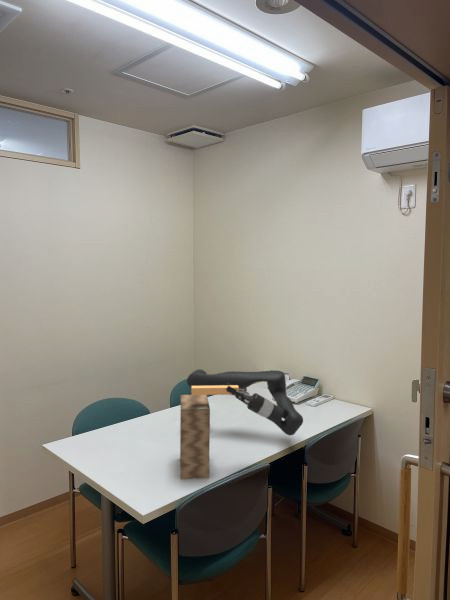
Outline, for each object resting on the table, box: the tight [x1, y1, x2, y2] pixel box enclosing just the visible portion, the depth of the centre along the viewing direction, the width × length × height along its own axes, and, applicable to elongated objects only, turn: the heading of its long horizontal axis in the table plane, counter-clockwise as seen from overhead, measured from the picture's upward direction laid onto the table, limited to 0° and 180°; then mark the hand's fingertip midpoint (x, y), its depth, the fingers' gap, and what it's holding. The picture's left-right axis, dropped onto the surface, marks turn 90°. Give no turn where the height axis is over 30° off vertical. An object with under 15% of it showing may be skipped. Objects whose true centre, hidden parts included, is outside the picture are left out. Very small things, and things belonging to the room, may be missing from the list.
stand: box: [179, 394, 211, 480], centre depth 196 cm, size 12×20×30 cm, turn 6°
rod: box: [190, 385, 239, 396], centre depth 190 cm, size 20×4×3 cm, turn 96°
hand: (226, 386), depth 190 cm, fingers closed on rod, 3 cm apart
